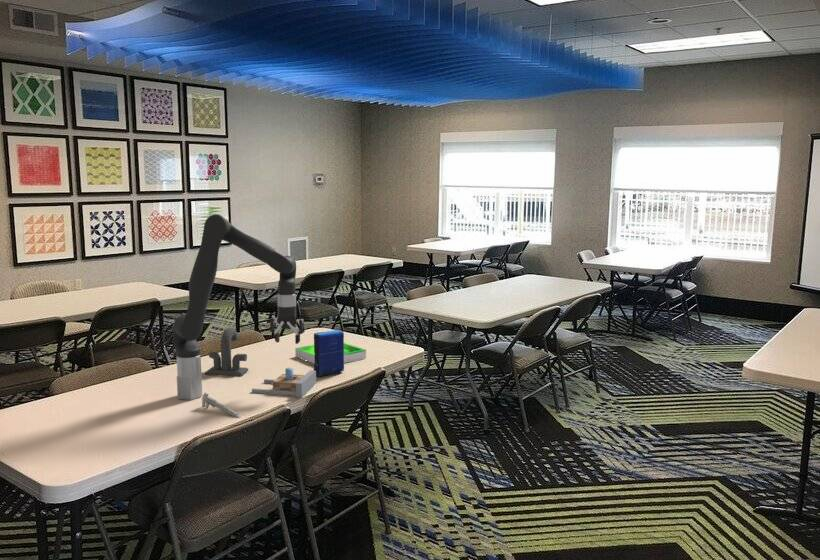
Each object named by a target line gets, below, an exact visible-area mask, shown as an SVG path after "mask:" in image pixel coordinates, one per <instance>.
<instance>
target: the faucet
mask: <svg viewBox="0 0 820 560" xmlns="http://www.w3.org/2000/svg"><path fill="white" fill-rule="evenodd" d="M221 334H222V335H221V336H220V337H221V338H220V354H219V352H217V351H214V350H211V351H209V353H208V357H209V358H210V359H212V360H213V366H212V367H210V368H209V369H207V370H206V371H205V372H204V375H205V376H218V375H222V377H223V376H224V377H243V376H244V375H246V373H248V372H249V368H247V367H241V363H240V362H247V359H248V354H247V353H236V354H235V355H233V357H232V345H231V344H232V342H236V341H238V340H239V334H238V332H237V330H236V329H235V328H233V327H227V328H225V329H224V330H223V332H222V333H221ZM247 371H248V372H247Z"/></svg>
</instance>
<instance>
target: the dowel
mask: <svg viewBox="0 0 820 560" xmlns="http://www.w3.org/2000/svg"><path fill="white" fill-rule="evenodd" d="M284 370H285V373H284V374H286V380H293V375H294V368H293V367H286V368H285V369H284Z"/></svg>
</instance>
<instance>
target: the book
mask: <svg viewBox="0 0 820 560" xmlns="http://www.w3.org/2000/svg"><path fill="white" fill-rule="evenodd" d="M344 337H345V334H344V331H342V330H340V329H335V330H327V331H322V332H314V333H313V342H314V343H313V345H314V353H315V357H314V358H315V363H314V364H313V371H316V377H323V376H330V375H335V374H339V373H341V372H344V370H345V363H344V343H345V342H344V341H345V340H344V339H345V338H344Z"/></svg>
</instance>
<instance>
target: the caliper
mask: <svg viewBox="0 0 820 560" xmlns="http://www.w3.org/2000/svg"><path fill="white" fill-rule="evenodd" d="M201 397H202V398H201V407H202V408H205V409H207V408H209V406H211V407H212V408H218V409H219V410H221V411H224V412H225V413H227V414H228V415H231V416H232V417H234V418H241V414H240V413H239V412H237V411H234V410H233V409H232V408H229V407H228V406H226V405H224V404H222V403H220V402H219V401H217V400H216V399H214V398H212V397H211V396H209V393H207V392H203V394H202V396H201Z"/></svg>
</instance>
